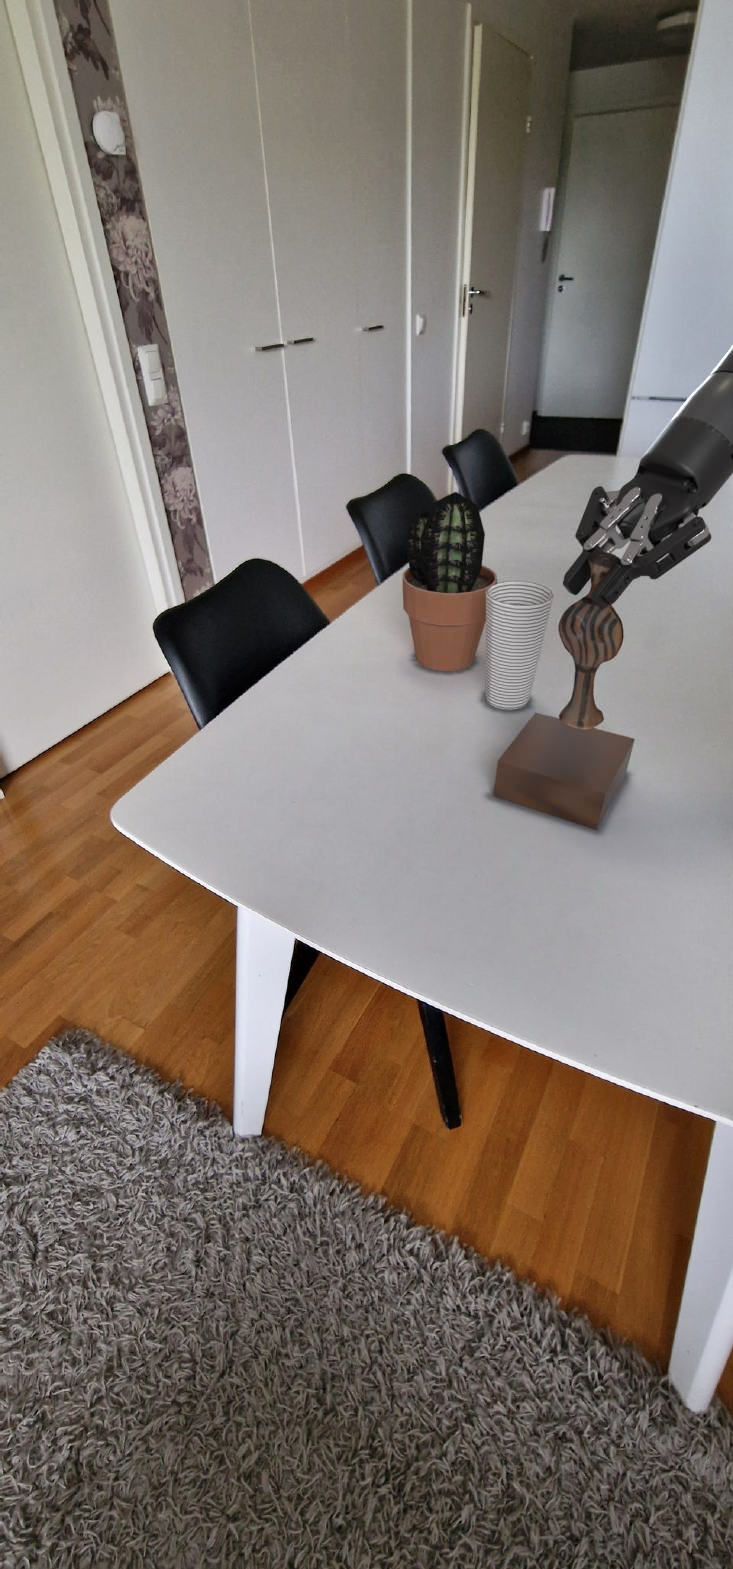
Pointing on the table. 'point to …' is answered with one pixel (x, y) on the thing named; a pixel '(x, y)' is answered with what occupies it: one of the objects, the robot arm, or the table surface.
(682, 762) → the table surface
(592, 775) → the walnut block
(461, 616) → the potted plant
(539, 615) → the cup
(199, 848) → the table surface
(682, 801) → the table surface
